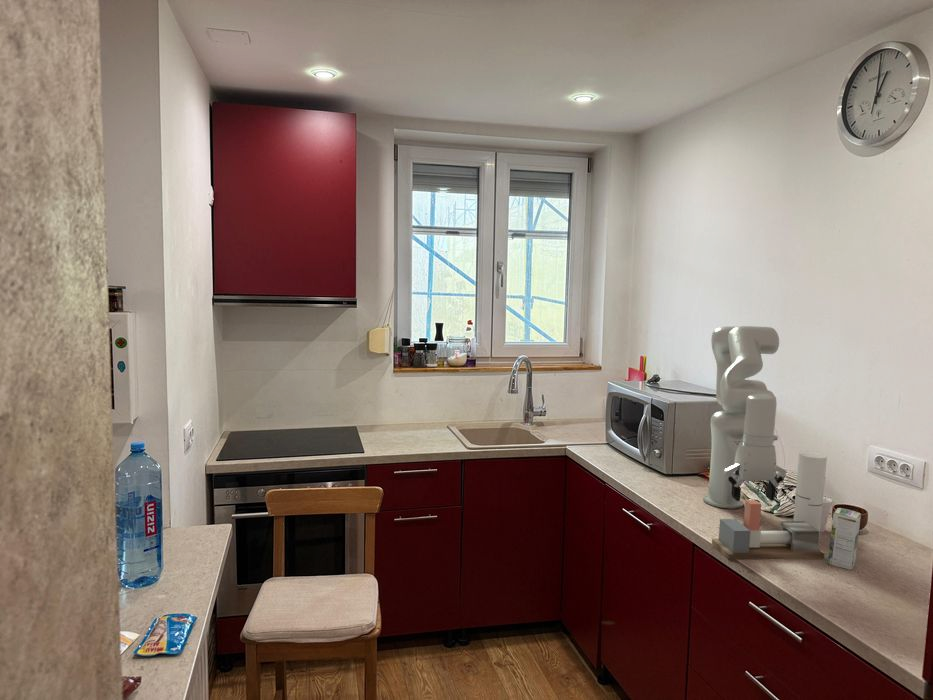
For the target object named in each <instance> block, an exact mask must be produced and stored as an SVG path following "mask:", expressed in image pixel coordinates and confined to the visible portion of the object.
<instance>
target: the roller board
mask: <svg viewBox="0 0 933 700" xmlns="http://www.w3.org/2000/svg"><path fill="white" fill-rule="evenodd" d="M779 531H790V532H791V533H792V541H791V544H760V547H749V553H732V552H731V551H730V550H729V549H728V548H727V547H726V546H724V545H723V544H722V543H721V542H720V541H719V538H712V539H711V545H712V546H714V548H716V550H718V551H719V553H721V554H722V555H723V556H724V557H725V558H726V559H727V560H728V561H729V560H730V561H731V560H740V561H741V560H824V559H825V553H824V552H823V551H821V550H820V549H819V542H820V537H819V532H820V531H818V530H817V529H815V528H814V527H812V526H811V525H809V524H808V523H806V522H805V521H793V520H792V521H789V520H787V521H786V520H785V521H780V528H779ZM820 533H821V532H820Z"/></svg>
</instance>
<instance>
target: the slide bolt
mask: <svg viewBox="0 0 933 700" xmlns="http://www.w3.org/2000/svg"><path fill="white" fill-rule="evenodd" d="M744 501H745V502H744V511H743V512H744V514H743V525H744V526H745V527H746V528H748V529H749V530H750V543H749V547H760V544H791V541H792V533H791V532H790V531H780V530H760V526H761V525H760V524H761V513H762V503H761V502H759V501H758V500H755V499H754V500H753V499H752V500H751V499H750V500H749V499H748V500H747V499H746V500H744Z"/></svg>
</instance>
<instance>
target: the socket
mask: <svg viewBox="0 0 933 700" xmlns="http://www.w3.org/2000/svg"><path fill="white" fill-rule="evenodd" d="M743 524H744V523H743ZM743 524H742V523H741V522H740V521H739V519H736V518H720V519H719V529H718V539H719V541H720V542H721V543H722V544H723V545H724V546H726V547H727V548H728V549H729V550H730V551H731V552H732V553H749V543H750V530H749V529H748V528H746V527H745V526H744V525H743Z"/></svg>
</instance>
